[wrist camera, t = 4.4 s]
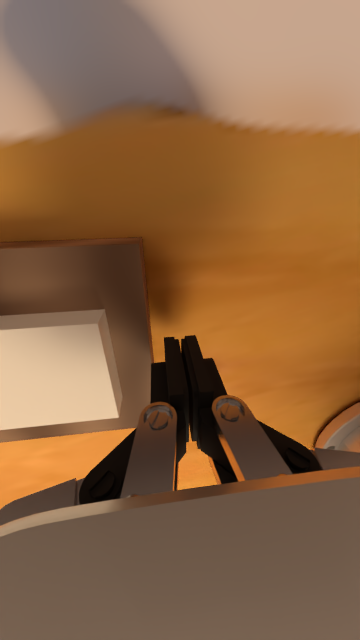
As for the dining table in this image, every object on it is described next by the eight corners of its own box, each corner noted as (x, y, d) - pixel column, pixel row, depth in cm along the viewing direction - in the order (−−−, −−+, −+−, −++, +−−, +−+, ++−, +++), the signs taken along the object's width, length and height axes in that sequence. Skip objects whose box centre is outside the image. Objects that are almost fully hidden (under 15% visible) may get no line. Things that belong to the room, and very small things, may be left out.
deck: (141, 237, 12) (139, 243, 9) (157, 397, 17) (157, 425, 15) (-150, 247, 10) (-233, 257, 8) (-32, 416, 16) (-62, 449, 14)
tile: (104, 309, 11) (97, 323, 9) (122, 397, 13) (118, 417, 12) (-73, 320, 10) (-108, 337, 9) (-16, 410, 13) (-36, 433, 11)
